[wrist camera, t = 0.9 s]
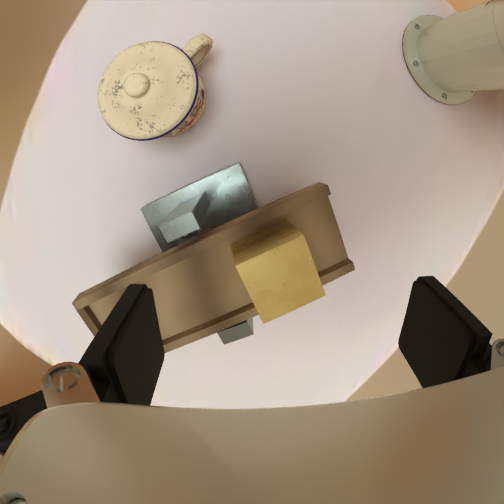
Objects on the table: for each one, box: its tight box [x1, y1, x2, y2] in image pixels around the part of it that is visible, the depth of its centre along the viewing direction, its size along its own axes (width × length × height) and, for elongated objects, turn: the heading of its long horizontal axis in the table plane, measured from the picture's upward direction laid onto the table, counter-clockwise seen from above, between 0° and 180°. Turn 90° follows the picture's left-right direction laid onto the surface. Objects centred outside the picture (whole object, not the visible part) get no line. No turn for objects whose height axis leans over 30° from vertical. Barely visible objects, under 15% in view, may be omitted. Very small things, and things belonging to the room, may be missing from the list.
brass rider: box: [230, 219, 325, 324], centre depth 24 cm, size 5×5×5 cm
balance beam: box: [72, 182, 355, 353], centre depth 27 cm, size 24×8×4 cm, turn 113°
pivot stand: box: [141, 163, 259, 344], centre depth 32 cm, size 12×15×11 cm
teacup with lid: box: [98, 34, 213, 141], centre depth 25 cm, size 12×9×12 cm
